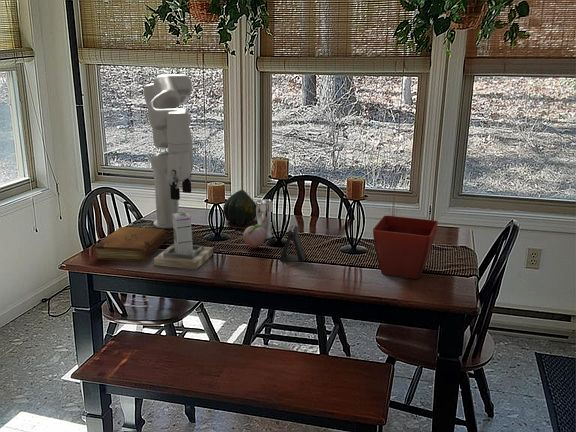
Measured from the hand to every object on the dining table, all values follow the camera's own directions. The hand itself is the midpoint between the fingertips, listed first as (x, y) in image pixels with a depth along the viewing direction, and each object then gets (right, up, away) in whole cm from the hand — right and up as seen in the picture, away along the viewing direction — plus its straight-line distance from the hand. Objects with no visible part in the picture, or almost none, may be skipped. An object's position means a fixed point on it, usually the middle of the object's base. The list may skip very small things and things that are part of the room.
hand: (181, 195), depth 205 cm
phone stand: (+39, -23, +8) cm, 46 cm away
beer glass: (+28, -16, +32) cm, 45 cm away
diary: (-21, -21, +16) cm, 34 cm away
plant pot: (+78, -26, -2) cm, 82 cm away
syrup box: (0, -21, +6) cm, 22 cm away
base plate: (0, -23, +7) cm, 24 cm away
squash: (+17, -10, +50) cm, 54 cm away
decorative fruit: (+25, -20, +19) cm, 37 cm away
